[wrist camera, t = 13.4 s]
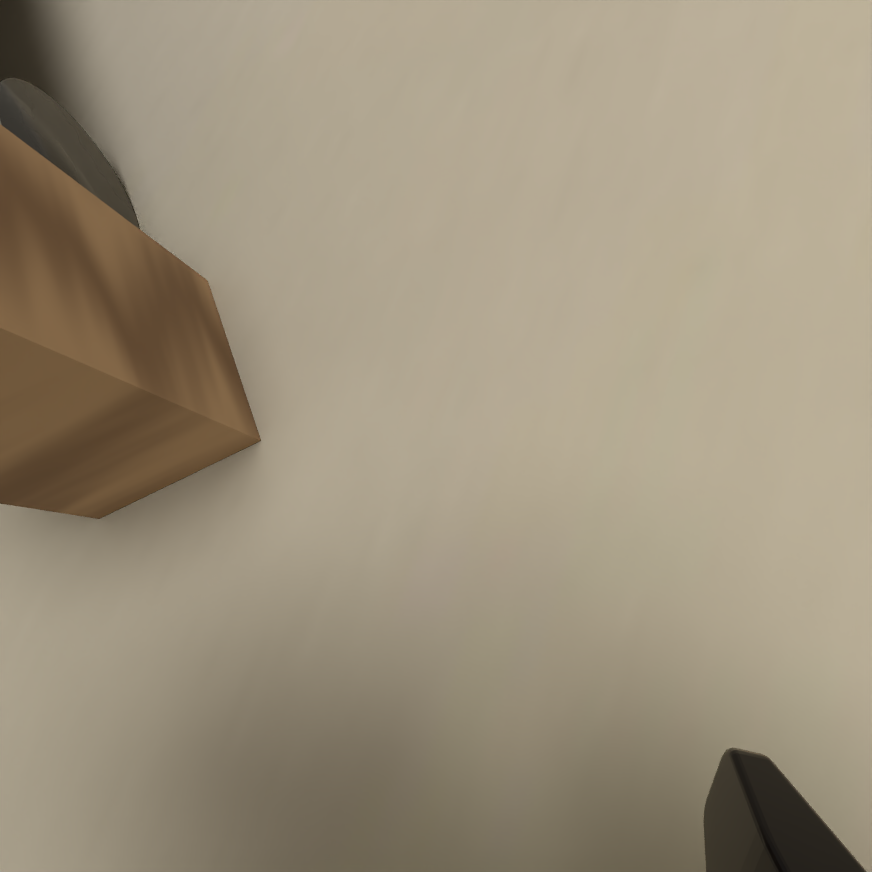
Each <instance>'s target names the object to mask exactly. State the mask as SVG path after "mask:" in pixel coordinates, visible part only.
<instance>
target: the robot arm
mask: <svg viewBox="0 0 872 872" xmlns="http://www.w3.org/2000/svg"><path fill="white" fill-rule="evenodd" d="M704 838H705V856H706V872H866V870H865V869H864V868H863V867H862V866H861V864H860V863H859V862H858V861H857V860H856V859H855V857H854V856H853V855H852V854H851V853H850V852H849V850H848V849H847V848H846V847H845V846H844V845H843V843H842V842H841V841H840V840H839V839H838V838H837V836H836V835H835V834H834V833H833V832H832V831H831V829H830V828H829V827H828V826H827V825H826V824H825V822H824V821H823V820H822V819H821V818H820V817H819V815H818V814H817V813H816V812H815V811H814V809H813V808H812V807H811V806H810V805H809V804H808V802H807V801H806V800H805V799H804V798H803V797H802V795H801V794H800V793H799V792H798V791H797V790H796V788H795V787H794V786H793V785H792V784H791V783H790V781H789V780H788V779H787V778H786V777H785V776H784V774H783V773H782V772H781V771H780V770H779V769H778V767H777V766H776V765H775V764H774V763H773V762H772V761H771V760H770V759H769V758H768V757H767V756H765V755H763V754H759V753H755V752H750V751H746V750H741V749H737V748H730V749H728V750H726V751H725V753H724V754H723V756H722V758H721V761H720V763H719V766H718V769H717V772H716V775H715V777H714V780H713V783H712V786H711V789H710V791H709V794H708V797H707V800H706V804H705V810H704Z"/></svg>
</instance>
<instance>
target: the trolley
mask: <svg viewBox="0 0 872 872" xmlns="http://www.w3.org/2000/svg"><path fill="white" fill-rule="evenodd" d="M0 124H1V125H2V126H3V127H5V128H6V129H7V130H9V131H10V132H11V133H13V134H14V135H15V136H17V137H18V138H19V139H21V140H22V141H23V142H25V143H26V144H27V145H29V146H30V147H31V148H33V149H34V150H35V151H37V152H38V153H39V154H40V155H42V156H43V157H44V158H46V159H47V160H48V161H50V162H51V163H52V164H54V165H55V166H56V167H58V168H59V169H60V170H62V171H63V172H64V173H66V174H67V175H68V176H70V177H71V178H72V179H74V180H75V181H76V182H78V183H79V184H80V185H82V186H83V187H84V188H85V189H87V190H88V191H89V192H91V193H92V194H93V195H95V196H96V197H97V198H99V199H100V200H101V201H103V202H104V203H105V204H107V205H108V206H109V207H111V208H112V209H113V210H115V211H116V212H117V213H119V214H120V215H121V216H123V217H124V218H125V219H127V220H128V221H129V222H130V223H132V224H133V225H134V226H136V227H137V228H138V229H139V225H138V222H137V218H136V216H135V213H134V210H133V208H132V205H131V203H130V201H129V198H128V196H127V194H126V192H125V190H124V188H123V186H122V185H121V183H120V181H119V179H118V177H117V176H116V174H115V172H114V171H113V169H112V168H111V166H110V164H109V163H108V161H107V160H106V158H105V157H104V155H103V154H102V153H101V151H100V150H99V148H98V147H97V146H96V144H95V143H94V142H93V141H92V139H91V138H90V137H89V136H88V134H87V133H86V132H85V131H84V129H83V128H82V127H81V126H80V125H79V124H78V123H77V122H76V120H75V119H74V118H73V117H72V116H71V115H70V114H69V113H68V112H67V111H66V110H65V109H64V108H63V107H62V106H61V105H59V104H58V103H57V102H56V101H55V100H54V99H53V98H51V97H50V96H49V95H48V94H46V93H45V92H43V91H42V90H41V89H39V88H38V87H36V86H34V85H33V84H31V83H29V82H26V81H24V80H22V79H18V78H7V79H4V80H2V81H1V82H0Z"/></svg>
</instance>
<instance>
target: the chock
mask: <svg viewBox="0 0 872 872" xmlns="http://www.w3.org/2000/svg"><path fill="white" fill-rule="evenodd" d="M259 441H261V439H260V436H259V433H258V430H257V427H256V424H255V421H254V418H253V415H252V412H251V409H250V406H249V403H248V400H247V397H246V394H245V391H244V388H243V385H242V382H241V379H240V376H239V373H238V370H237V367H236V364H235V361H234V358H233V355H232V352H231V349H230V346H229V343H228V340H227V337H226V334H225V331H224V328H223V326H222V323H221V320H220V317H219V314H218V311H217V308H216V305H215V302H214V299H213V296H212V293H211V290H210V287H209V284H208V281H207V280H206V279H205V278H203V277H202V276H201V275H199V274H198V273H197V272H195V271H194V270H193V269H191V268H190V267H189V266H187V265H186V264H185V263H183V262H182V261H181V260H179V259H178V258H177V257H175V256H174V255H173V254H172V253H170V252H169V251H168V250H166V249H165V248H164V247H162V246H161V245H160V244H158V243H157V242H156V241H154V240H153V239H152V238H150V237H149V236H148V235H146V234H145V233H144V232H142V231H141V230H140V229H138V228H137V227H136V226H134V225H133V224H132V223H130V222H129V221H128V220H127V219H125V218H124V217H123V216H121V215H120V214H119V213H117V212H116V211H115V210H113V209H112V208H111V207H109V206H108V205H107V204H105V203H104V202H103V201H101V200H100V199H99V198H97V197H96V196H95V195H93V194H92V193H91V192H89V191H88V190H87V189H85V188H84V187H83V186H82V185H80V184H79V183H78V182H76V181H75V180H74V179H72V178H71V177H70V176H68V175H67V174H66V173H64V172H63V171H62V170H60V169H59V168H58V167H56V166H55V165H54V164H52V163H51V162H50V161H48V160H47V159H46V158H44V157H43V156H42V155H40V154H39V153H38V152H37V151H35V150H34V149H33V148H31V147H30V146H29V145H27V144H26V143H25V142H23V141H22V140H21V139H19V138H18V137H17V136H15V135H14V134H13V133H11V132H10V131H9V130H7V129H6V128H5V127H3V126H2V125H1V124H0V503H1V504H7V505H14V506H20V507H27V508H33V509H40V510H46V511H53V512H59V513H65V514H72V515H78V516H85V517H91V518H98V519H100V518H102V517H104V516H106V515H108V514H110V513H112V512H114V511H116V510H118V509H120V508H123V507H125V506H127V505H129V504H131V503H133V502H135V501H137V500H139V499H141V498H143V497H145V496H147V495H149V494H152V493H154V492H156V491H158V490H160V489H162V488H164V487H166V486H168V485H170V484H172V483H174V482H176V481H178V480H181V479H183V478H185V477H187V476H189V475H191V474H193V473H195V472H197V471H199V470H201V469H203V468H205V467H207V466H210V465H212V464H214V463H216V462H218V461H220V460H222V459H224V458H226V457H228V456H230V455H232V454H234V453H237V452H239V451H241V450H243V449H245V448H247V447H249V446H251V445H253V444H255V443H257V442H259Z"/></svg>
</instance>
